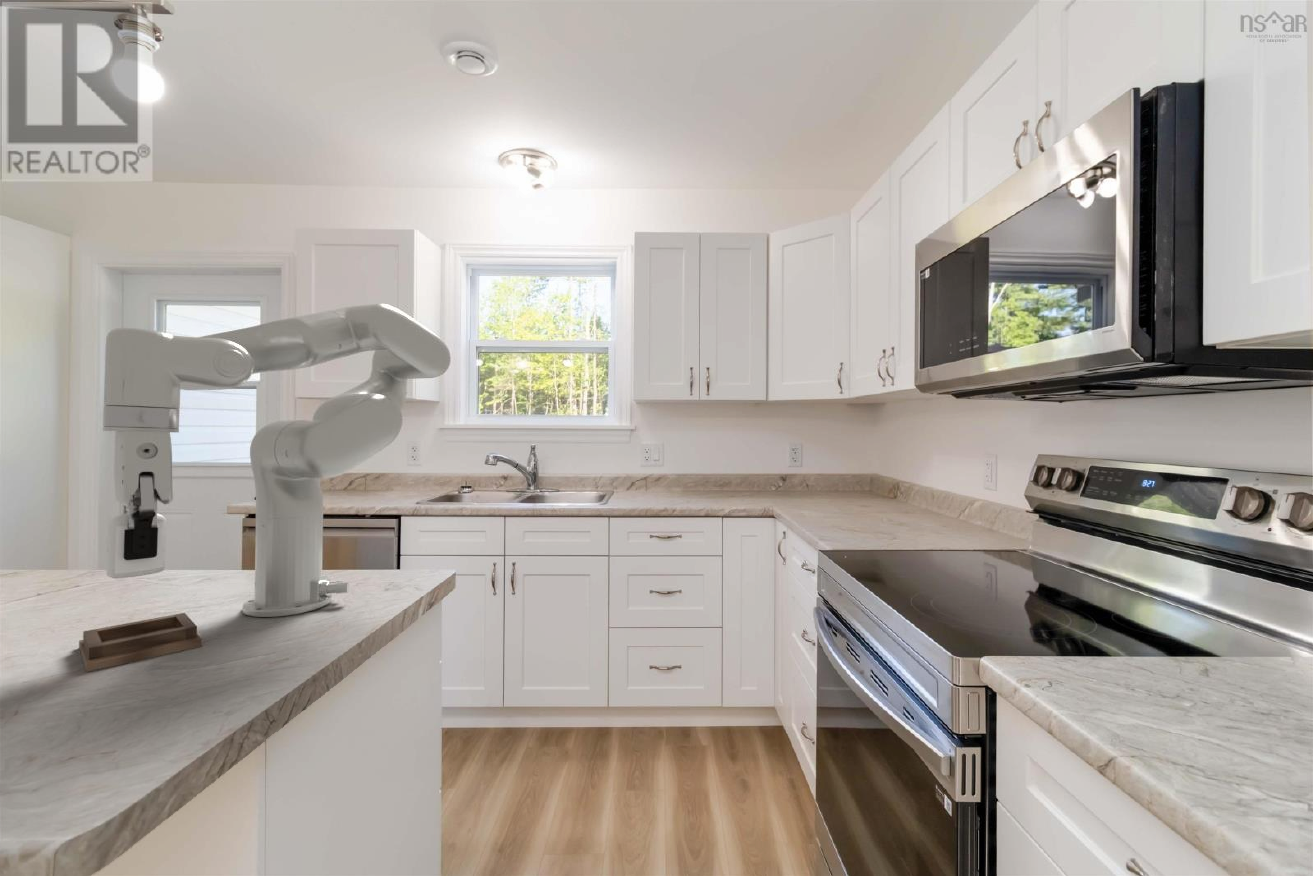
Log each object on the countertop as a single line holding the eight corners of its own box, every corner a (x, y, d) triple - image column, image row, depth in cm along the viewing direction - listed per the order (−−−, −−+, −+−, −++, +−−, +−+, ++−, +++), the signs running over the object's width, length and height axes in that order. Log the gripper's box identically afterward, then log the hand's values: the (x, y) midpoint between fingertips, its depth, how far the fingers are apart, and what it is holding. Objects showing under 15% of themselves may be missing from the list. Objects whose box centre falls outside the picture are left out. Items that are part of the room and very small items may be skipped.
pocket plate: (185, 626, 82) (185, 610, 82) (201, 646, 75) (201, 628, 75) (79, 648, 73) (79, 629, 73) (86, 672, 66) (86, 651, 66)
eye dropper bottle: (159, 575, 73) (162, 486, 73) (102, 580, 70) (105, 487, 70) (167, 568, 77) (170, 484, 77) (113, 573, 74) (116, 485, 74)
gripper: (191, 422, 71) (186, 561, 71) (167, 422, 82) (163, 543, 82) (110, 419, 65) (105, 571, 65) (96, 420, 76) (92, 550, 76)
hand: (138, 554), depth 74 cm, fingers closed on eye dropper bottle, 3 cm apart
